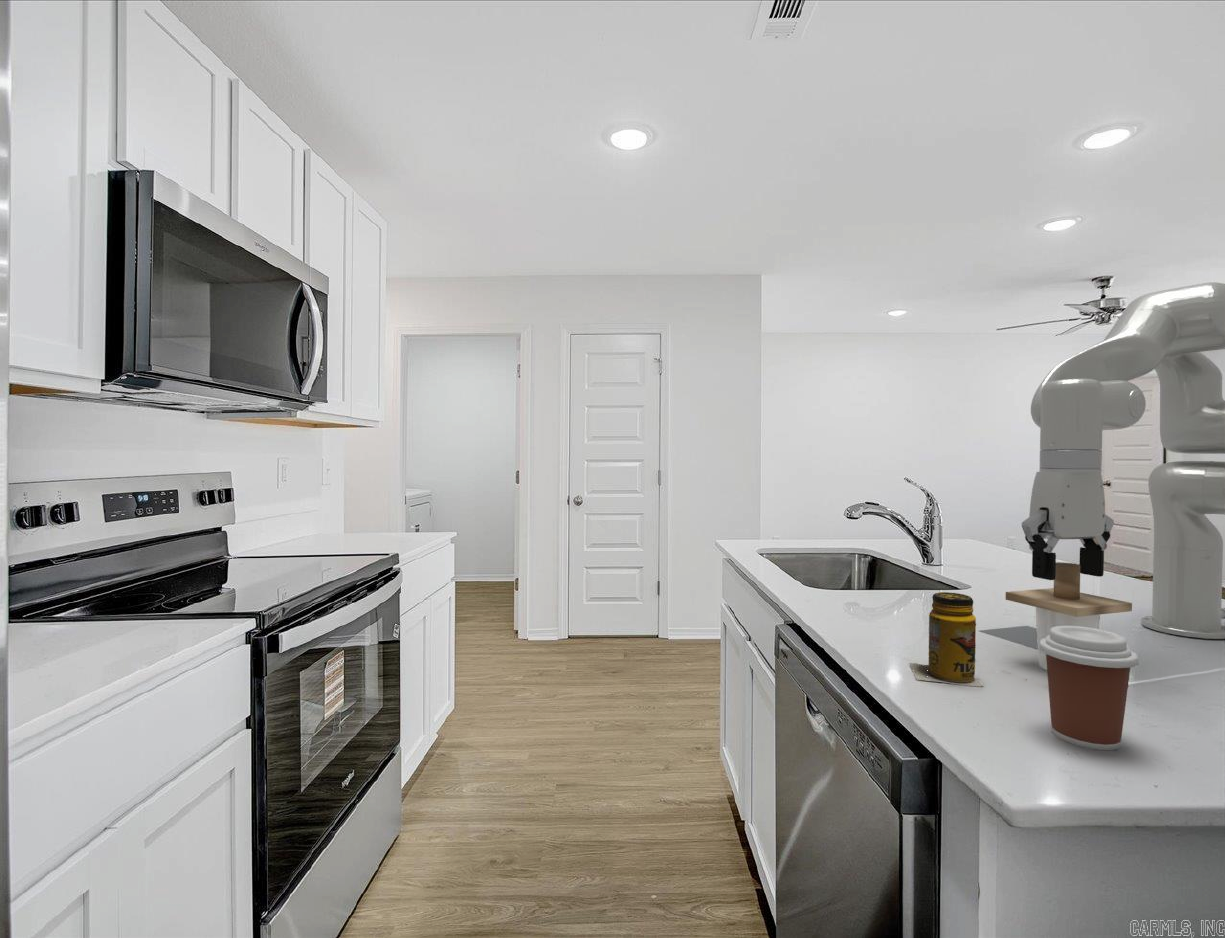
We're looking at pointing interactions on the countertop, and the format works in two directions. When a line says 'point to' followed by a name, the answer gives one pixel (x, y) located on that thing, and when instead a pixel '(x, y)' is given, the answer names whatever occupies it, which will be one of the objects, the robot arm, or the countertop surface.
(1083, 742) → the coffee cup
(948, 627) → the condiment
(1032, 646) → the mat
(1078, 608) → the lid
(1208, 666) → the countertop surface
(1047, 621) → the white cup
